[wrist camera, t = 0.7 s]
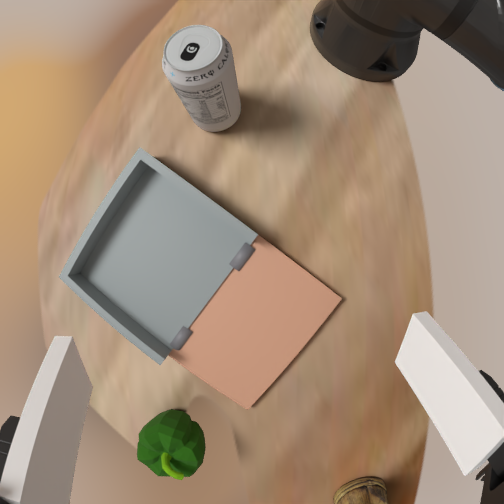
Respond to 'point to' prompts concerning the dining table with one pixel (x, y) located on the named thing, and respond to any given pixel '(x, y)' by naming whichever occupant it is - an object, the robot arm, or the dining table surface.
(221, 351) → the hinged lid tray
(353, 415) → the dining table surface
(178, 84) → the energy drink can
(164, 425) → the bell pepper
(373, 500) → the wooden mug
